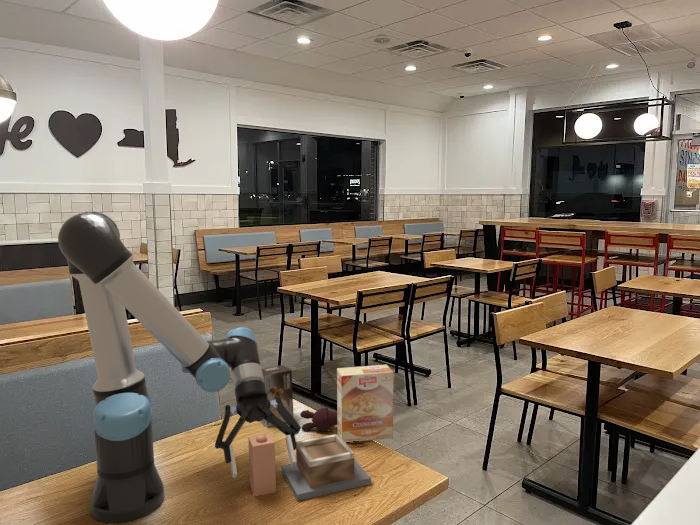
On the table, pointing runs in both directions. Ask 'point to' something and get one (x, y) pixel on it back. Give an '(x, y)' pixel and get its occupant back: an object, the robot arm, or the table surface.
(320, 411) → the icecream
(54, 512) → the table surface
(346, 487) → the base board
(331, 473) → the brown square box
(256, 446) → the block
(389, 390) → the coffeecake box
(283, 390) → the coffee box
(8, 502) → the table surface
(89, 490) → the table surface
